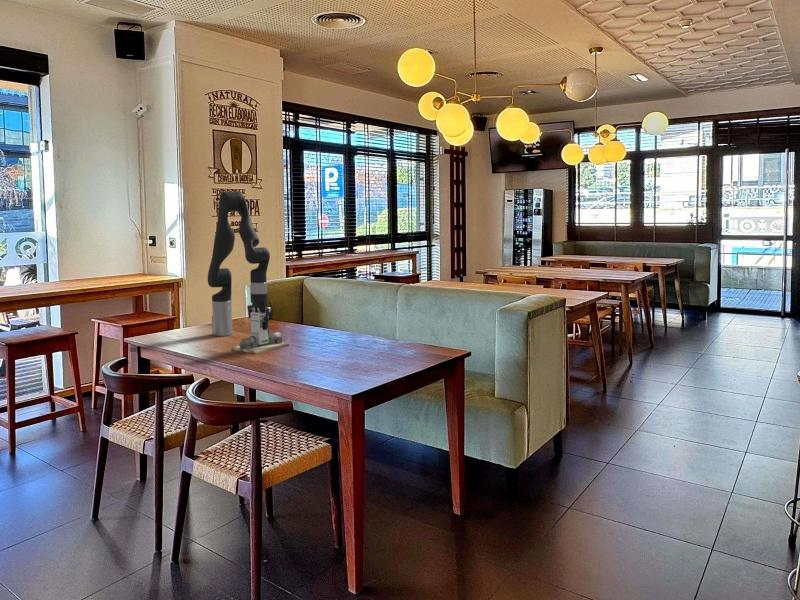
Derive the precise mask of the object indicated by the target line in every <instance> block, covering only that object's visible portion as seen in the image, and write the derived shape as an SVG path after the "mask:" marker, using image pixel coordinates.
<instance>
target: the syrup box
mask: <svg viewBox="0 0 800 600" xmlns="http://www.w3.org/2000/svg"><path fill="white" fill-rule="evenodd" d="M265 314H266V312H265V313H262V315H265ZM264 319H265V317H264ZM269 321H270V320H269ZM269 321H268V328H267V330H263V326H262V322H263V321H262V317H261V313H259V312H251V318H250V327H251V328H250V330H251V336H255V337H256V339H257V343H256V344H258V345H261V344H265V343H269V342H270V341H269V333H270V322H269Z"/></svg>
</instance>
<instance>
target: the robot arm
mask: <svg viewBox="0 0 800 600" xmlns="http://www.w3.org/2000/svg"><path fill="white" fill-rule="evenodd" d="M217 208H218V210H217V211H218V212H217V221H216V222H217V224H216V229H215V235H214V240H213V247H212V248H213V249H212V255H211V260H210V264H209V268H208V272H207V283H208V286H209V287H211V288H221V289H220V291H218V292H217V293H214V294H212V296H211V304H212V315H211V332H212V335H213V336H217V337H222V336H223V337H225V336H231V335H233V333H234V332H233V312H232V281H233V280H232V278H233V277H232V272H231V270H230V269H229V268H226V267H225V268H223V267H222V268H221V265H222V263H223V262H224V261H226V258H228V257H229V256H230V255H231V253H232V252H233V250H234V245H235V239H236V235H235V232H234V230H233V228H232V226H231V225H230V223H229V213H235V212H237V213H239V214H240V222H239V225H238V234H239V237H240V239H241V241H242V243H243V248H244V257H245V260H246V261H247V262H248V263H249V264H250V265H252V264H253V265H255V264H256V265H257V264H258V266H257V267H256V268H253V269H251V270H250V273H249V274H250V275H249V276H250V286H249V289H250V290H249V291H250V303H251V304H248V305H247V308H246V309H247V314H248V318H249V319H251V312H259V313H261V317H262V321H263V322H262V326H263V330H267V328H268V321H271V320H272V315H273V313H272V310H273V308H272V307H268V305H267V303H268V301H269V297H268V282H267V272H268V267H269V263H270V259H271V255H270V254H271V253H270V251H269V249H268V248H267V247H264V246H263V247H262V246H261V247H257V246H259V244H260V239H259V235H258V234H257V232H256V230H255V227H254V225H253V223H252V219H251V215H250V212H249V207H248V204H247V201H246V198H245V195H244V194H243V192H240V191H223V192H221V193H220V195H219V198H218V207H217ZM265 312H266V314H265V315H262V313H265ZM264 317H265V319H264Z"/></svg>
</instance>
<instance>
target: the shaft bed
mask: <svg viewBox="0 0 800 600" xmlns="http://www.w3.org/2000/svg"><path fill="white" fill-rule="evenodd" d="M269 341H270V342H269V343H265V344H261V345H258V344H256V343H257V339H256V337H255V336H252V335H251V336H249V337H244V338H241V339H240V341H239V344H238V345H233V346H231V350H233V351H239V352H244V353H249V354H254V355H258V354H262V353H266V352H270V351H273V350H278V349H283V348H286V347H290V342H289V343H288V342H283V337H282V334H281V332H280V331H277V332H272V333H271V332H269Z"/></svg>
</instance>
